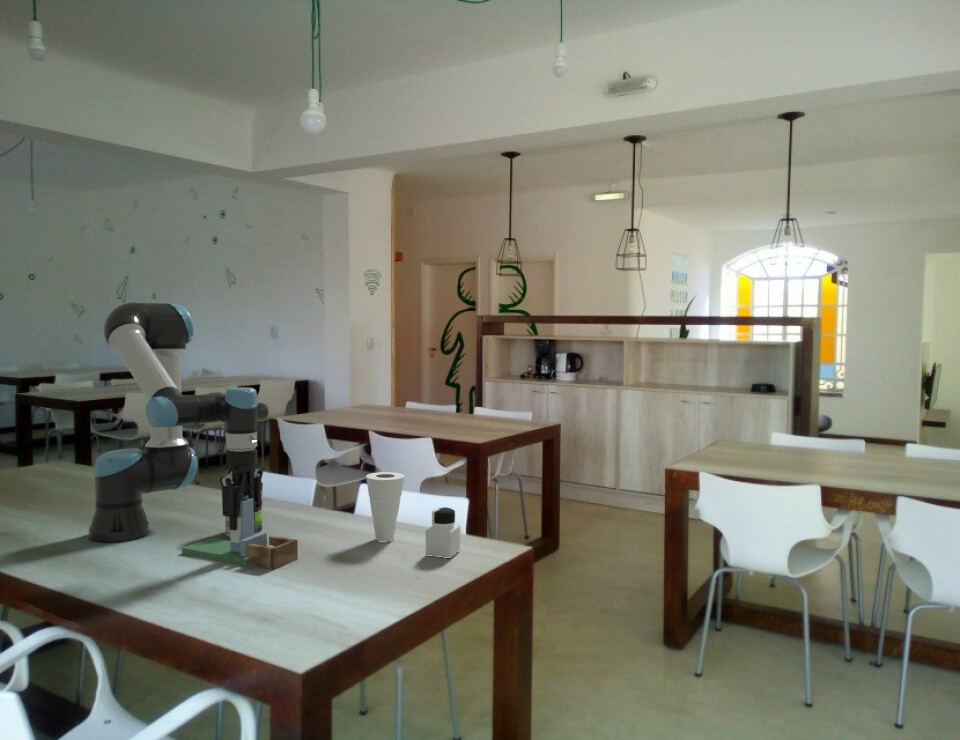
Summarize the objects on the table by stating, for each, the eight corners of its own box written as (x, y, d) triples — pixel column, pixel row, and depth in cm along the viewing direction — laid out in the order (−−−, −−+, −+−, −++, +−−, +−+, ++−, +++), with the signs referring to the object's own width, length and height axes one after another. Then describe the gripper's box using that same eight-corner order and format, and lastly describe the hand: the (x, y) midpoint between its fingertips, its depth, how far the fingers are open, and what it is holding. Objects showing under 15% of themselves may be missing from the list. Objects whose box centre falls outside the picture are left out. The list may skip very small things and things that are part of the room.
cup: (410, 537, 207) (411, 474, 206) (390, 547, 197) (391, 481, 196) (378, 532, 212) (379, 470, 210) (357, 542, 202) (358, 477, 201)
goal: (248, 564, 181) (248, 545, 181) (272, 554, 189) (272, 535, 189) (274, 569, 178) (274, 549, 178) (297, 559, 186) (297, 539, 186)
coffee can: (269, 529, 213) (269, 481, 212) (251, 539, 203) (251, 488, 202) (236, 526, 215) (236, 479, 214) (217, 536, 205) (217, 486, 204)
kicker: (224, 553, 185) (224, 498, 184) (246, 544, 192) (246, 491, 191) (245, 556, 182) (245, 501, 181) (266, 548, 189) (266, 494, 189)
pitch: (182, 553, 189) (182, 547, 189) (210, 543, 198) (210, 537, 198) (246, 565, 181) (246, 559, 181) (273, 554, 190) (273, 548, 190)
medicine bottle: (460, 551, 195) (461, 507, 194) (450, 559, 188) (451, 513, 188) (435, 548, 198) (436, 504, 197) (425, 556, 191) (425, 510, 190)
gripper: (229, 455, 177) (230, 550, 178) (275, 445, 192) (276, 533, 194) (205, 452, 180) (206, 546, 181) (252, 443, 195) (253, 529, 197)
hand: (242, 539), depth 187 cm, fingers closed on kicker, 4 cm apart
